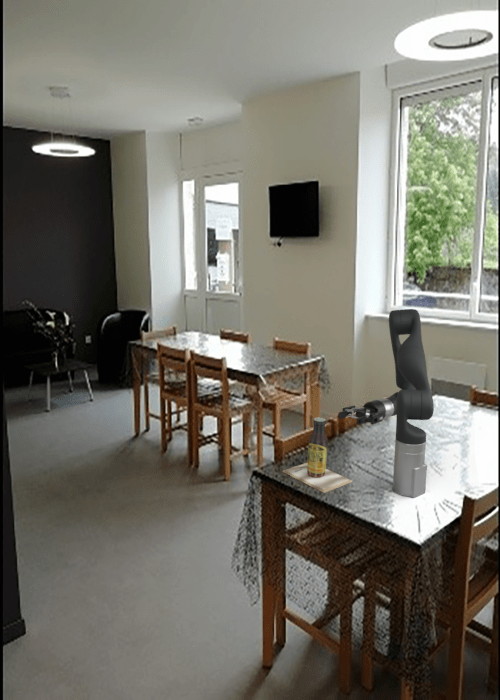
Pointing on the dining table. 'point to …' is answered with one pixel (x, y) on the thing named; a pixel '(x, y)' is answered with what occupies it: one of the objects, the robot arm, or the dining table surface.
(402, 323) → the robot arm
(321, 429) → the sauce bottle
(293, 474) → the notepad
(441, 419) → the dining table surface
